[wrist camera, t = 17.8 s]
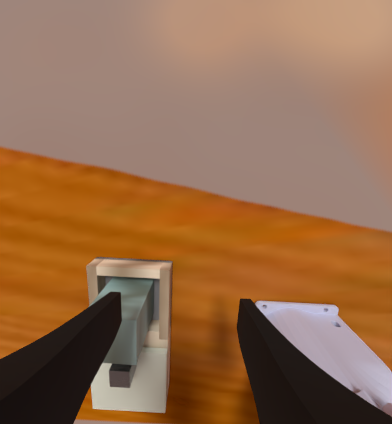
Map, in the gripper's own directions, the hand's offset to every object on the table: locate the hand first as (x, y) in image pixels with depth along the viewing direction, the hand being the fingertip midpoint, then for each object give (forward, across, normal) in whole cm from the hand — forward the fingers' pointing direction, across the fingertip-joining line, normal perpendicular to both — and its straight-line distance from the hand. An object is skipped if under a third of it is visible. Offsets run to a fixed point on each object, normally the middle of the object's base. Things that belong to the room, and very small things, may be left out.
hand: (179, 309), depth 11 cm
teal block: (+9, +6, +6) cm, 12 cm away
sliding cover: (+7, +6, +15) cm, 18 cm away
